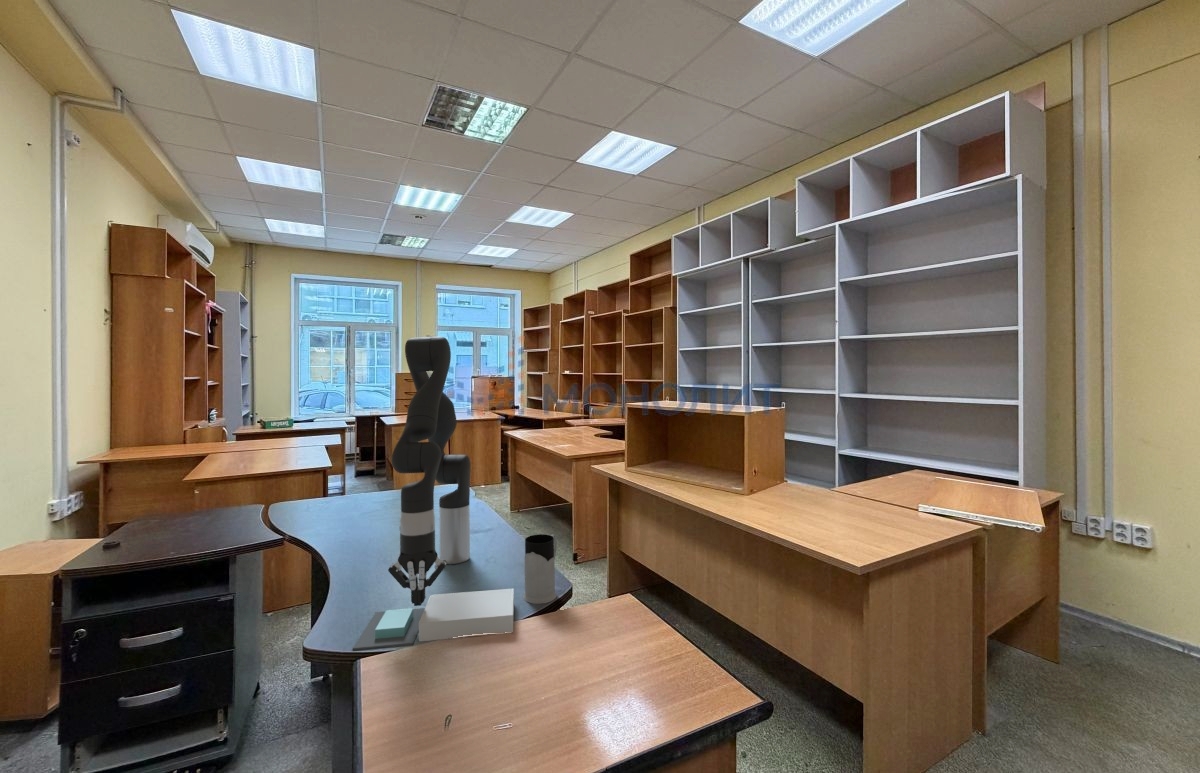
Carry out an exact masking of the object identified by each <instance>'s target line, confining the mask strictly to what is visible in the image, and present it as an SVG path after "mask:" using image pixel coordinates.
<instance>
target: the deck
mask: <svg viewBox="0 0 1200 773" xmlns="http://www.w3.org/2000/svg"><path fill="white" fill-rule="evenodd" d="M424 608H425V610H424V612H423V614H422V616H421V619H420V621H419V631H418V642H429V641H430V642H431V641H441V640H448V638H452V639H454V638H453V637H458V636H463V635H472V634H483V633H505V632H513V633H514V612H515V611H514V610H515V588H505V589H504V588H502V589H501V588H500V589H492V590H491V589H490V590H489V589H487V590H478V591H476V590H475V591H464V592H450V593H437V594H436V593H435V594H430V596H429V599H428V601H427V603H426V606H425V607H424Z"/></svg>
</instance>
